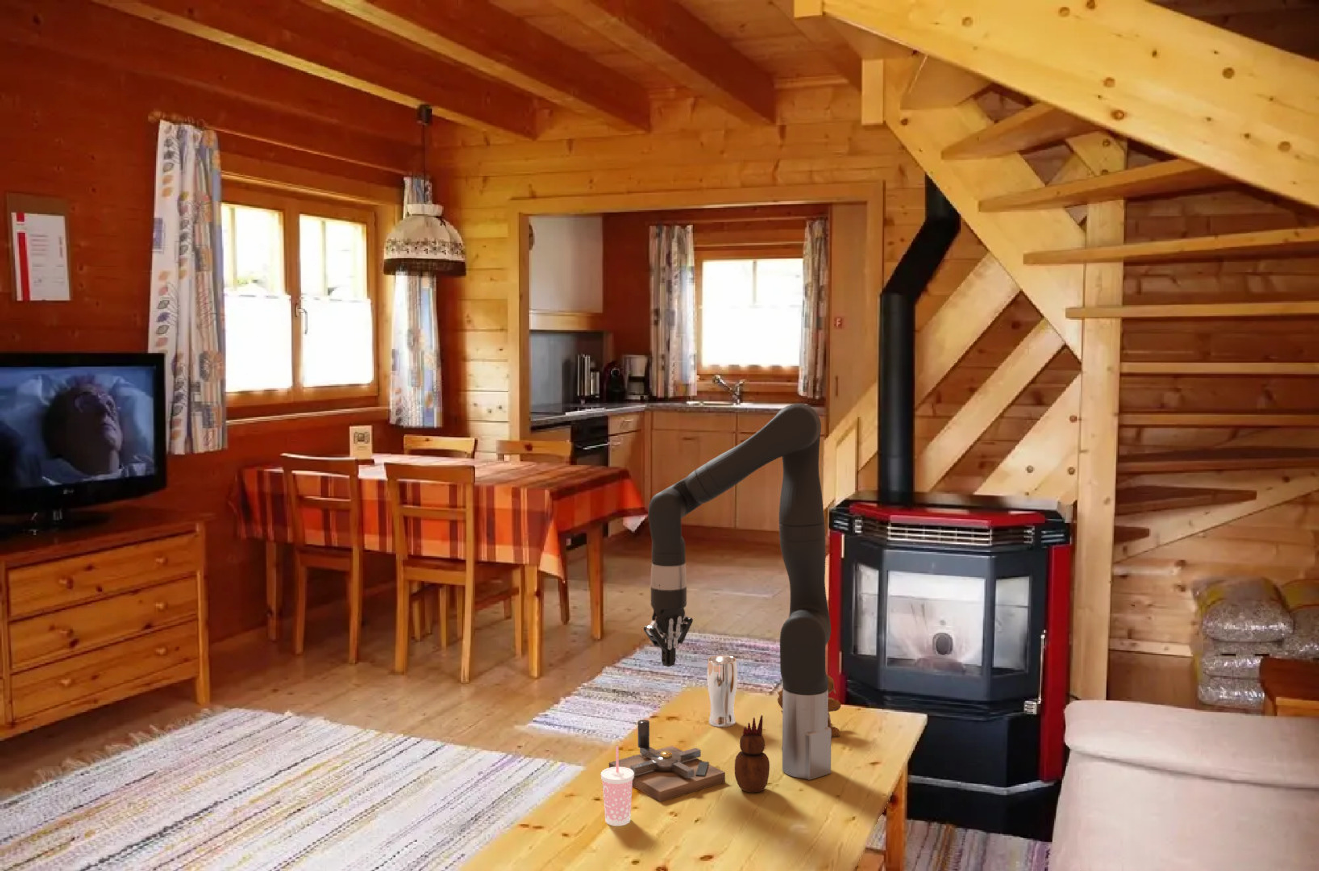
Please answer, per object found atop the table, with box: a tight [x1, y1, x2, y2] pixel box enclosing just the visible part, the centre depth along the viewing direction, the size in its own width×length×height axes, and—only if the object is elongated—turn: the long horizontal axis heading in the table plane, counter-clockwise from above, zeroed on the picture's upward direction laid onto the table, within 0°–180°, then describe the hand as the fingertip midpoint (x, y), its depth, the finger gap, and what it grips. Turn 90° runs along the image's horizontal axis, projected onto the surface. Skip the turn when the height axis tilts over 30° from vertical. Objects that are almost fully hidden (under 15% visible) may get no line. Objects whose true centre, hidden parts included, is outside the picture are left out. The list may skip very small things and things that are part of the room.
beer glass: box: [706, 654, 738, 728], centre depth 251 cm, size 7×7×15 cm
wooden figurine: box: [734, 715, 771, 794], centre depth 213 cm, size 7×6×15 cm
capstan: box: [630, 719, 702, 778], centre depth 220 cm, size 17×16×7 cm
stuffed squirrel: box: [776, 673, 842, 738], centre depth 246 cm, size 10×14×13 cm
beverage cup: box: [600, 745, 634, 827], centre depth 200 cm, size 6×6×14 cm
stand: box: [608, 745, 726, 803], centre depth 220 cm, size 18×16×2 cm
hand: (668, 665), depth 229 cm, fingers closed
